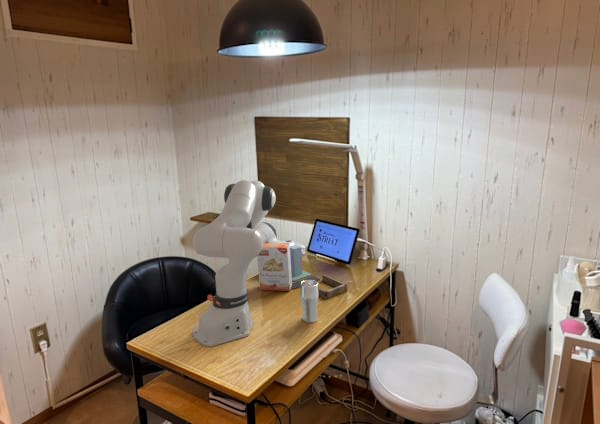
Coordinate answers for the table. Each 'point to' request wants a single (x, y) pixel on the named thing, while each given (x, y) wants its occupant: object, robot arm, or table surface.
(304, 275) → the green felt pad
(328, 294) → the dark wooden tray
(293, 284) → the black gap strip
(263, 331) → the table surface
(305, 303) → the beer glass
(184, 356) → the table surface
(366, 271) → the table surface
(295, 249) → the slate block
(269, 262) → the cracker box
